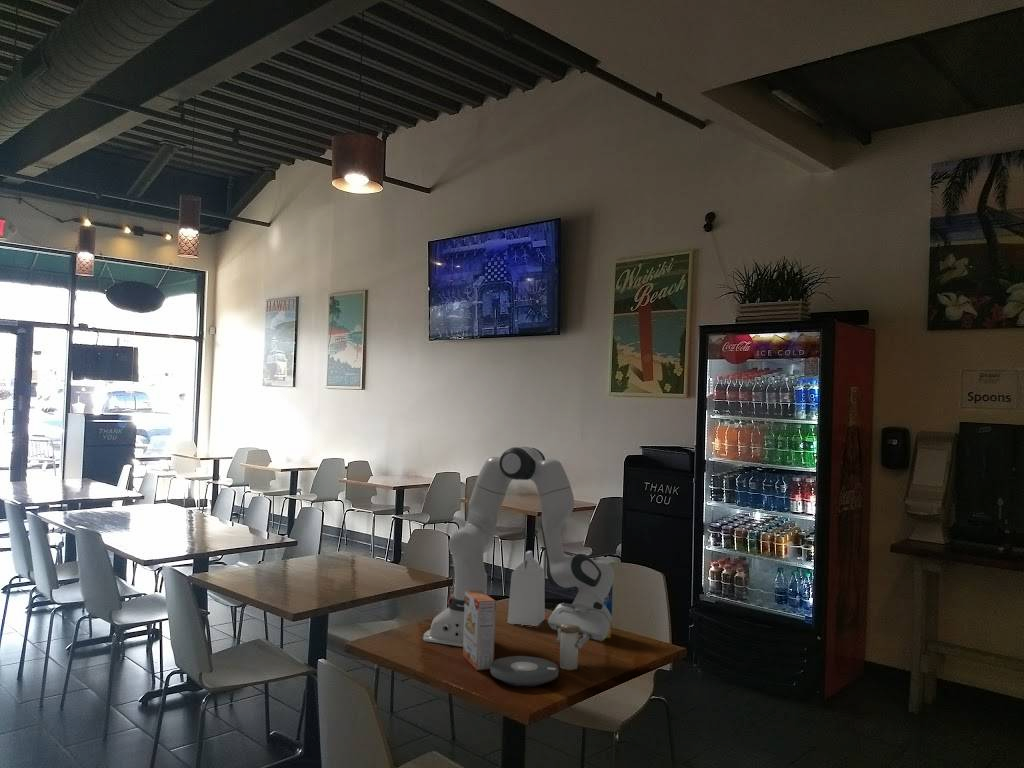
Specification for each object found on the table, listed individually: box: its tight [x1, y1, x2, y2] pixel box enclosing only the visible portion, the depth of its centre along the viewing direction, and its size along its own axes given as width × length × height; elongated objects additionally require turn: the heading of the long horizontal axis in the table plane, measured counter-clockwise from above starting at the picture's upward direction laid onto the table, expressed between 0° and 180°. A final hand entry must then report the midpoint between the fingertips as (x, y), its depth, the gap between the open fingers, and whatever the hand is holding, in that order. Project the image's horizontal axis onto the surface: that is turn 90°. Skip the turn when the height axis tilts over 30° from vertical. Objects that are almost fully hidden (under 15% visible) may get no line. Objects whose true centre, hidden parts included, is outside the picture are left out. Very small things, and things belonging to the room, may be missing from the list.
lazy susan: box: [489, 655, 559, 684], centre depth 223 cm, size 20×20×2 cm
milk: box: [506, 550, 546, 627], centre depth 286 cm, size 12×12×26 cm
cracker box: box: [462, 590, 497, 671], centre depth 235 cm, size 14×6×21 cm, turn 21°
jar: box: [559, 624, 580, 671], centre depth 235 cm, size 6×6×12 cm
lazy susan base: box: [502, 681, 545, 688], centre depth 222 cm, size 14×14×2 cm
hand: (568, 644), depth 234 cm, fingers closed on jar, 5 cm apart
